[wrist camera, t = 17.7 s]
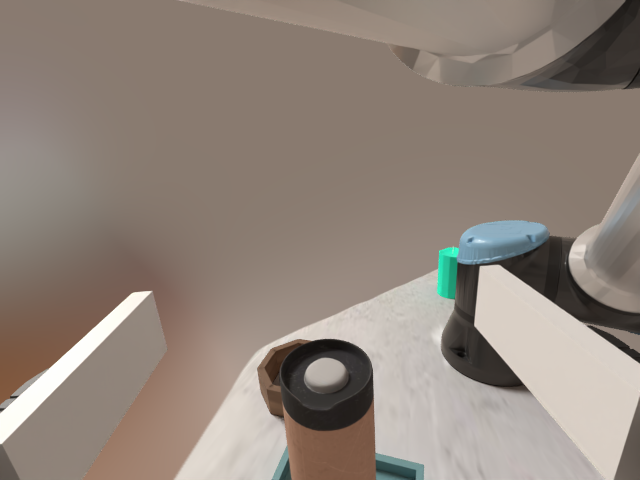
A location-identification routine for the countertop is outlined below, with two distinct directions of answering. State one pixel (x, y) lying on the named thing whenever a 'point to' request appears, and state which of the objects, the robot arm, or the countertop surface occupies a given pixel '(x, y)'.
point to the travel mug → (329, 411)
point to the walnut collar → (270, 371)
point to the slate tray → (391, 473)
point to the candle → (447, 272)
